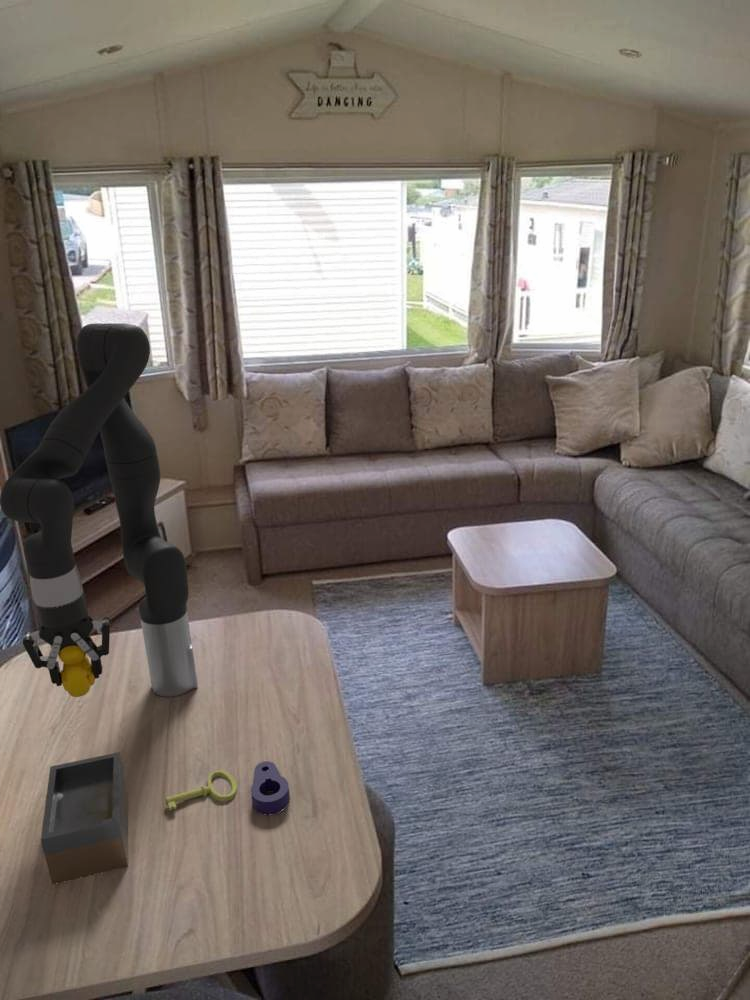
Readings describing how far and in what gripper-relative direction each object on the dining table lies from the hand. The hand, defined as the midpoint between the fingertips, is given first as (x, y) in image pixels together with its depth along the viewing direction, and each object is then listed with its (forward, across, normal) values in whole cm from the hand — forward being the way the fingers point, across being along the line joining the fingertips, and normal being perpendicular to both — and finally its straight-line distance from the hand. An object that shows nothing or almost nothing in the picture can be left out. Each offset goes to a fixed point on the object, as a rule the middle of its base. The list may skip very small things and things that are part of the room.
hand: (78, 679), depth 131 cm
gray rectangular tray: (+19, 0, +16) cm, 25 cm away
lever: (+20, -28, +15) cm, 38 cm away
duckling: (+2, 0, 0) cm, 2 cm away
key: (+20, -18, +12) cm, 30 cm away
